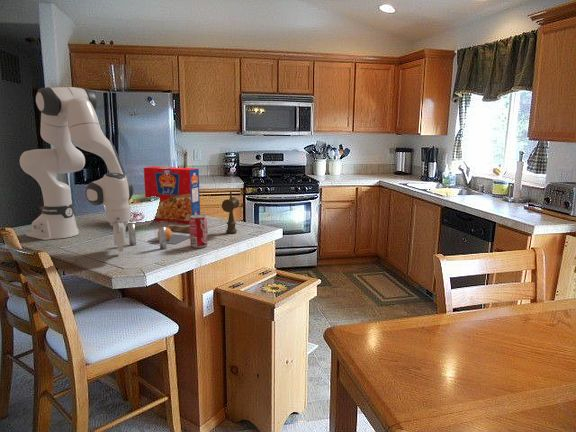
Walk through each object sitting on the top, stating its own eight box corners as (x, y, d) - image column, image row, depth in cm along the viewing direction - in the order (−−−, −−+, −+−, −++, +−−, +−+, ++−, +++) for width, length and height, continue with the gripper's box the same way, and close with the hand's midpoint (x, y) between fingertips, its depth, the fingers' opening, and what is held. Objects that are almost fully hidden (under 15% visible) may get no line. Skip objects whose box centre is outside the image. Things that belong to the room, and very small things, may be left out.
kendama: (222, 234, 197) (221, 192, 193) (228, 230, 206) (227, 189, 202) (234, 235, 196) (233, 192, 192) (240, 230, 205) (240, 189, 201)
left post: (128, 245, 178) (126, 224, 176) (132, 243, 180) (130, 223, 178) (133, 246, 177) (131, 225, 175) (137, 244, 180) (136, 223, 178)
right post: (158, 249, 173) (157, 227, 171) (162, 247, 176) (161, 226, 174) (164, 249, 172) (163, 228, 170) (167, 248, 175) (166, 226, 173)
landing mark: (147, 241, 185) (147, 240, 184) (166, 233, 198) (166, 233, 197) (175, 244, 180) (175, 243, 180) (192, 236, 193) (192, 236, 193)
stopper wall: (168, 230, 204) (168, 225, 204) (171, 229, 206) (170, 224, 205) (205, 234, 198) (205, 228, 197) (207, 233, 199) (207, 228, 199)
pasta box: (146, 220, 227) (143, 167, 221) (156, 217, 234) (153, 166, 228) (192, 224, 217) (189, 169, 211) (200, 221, 224) (198, 168, 219)
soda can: (203, 249, 173) (202, 218, 171) (187, 248, 175) (186, 217, 172) (210, 244, 180) (209, 214, 178) (194, 243, 182) (193, 213, 179)
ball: (157, 224, 184) (166, 226, 189) (153, 238, 184) (162, 239, 189) (167, 228, 181) (176, 230, 187) (163, 241, 181) (172, 243, 186)
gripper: (126, 220, 153) (129, 257, 156) (127, 210, 172) (129, 243, 175) (108, 222, 151) (111, 259, 154) (110, 211, 170) (113, 244, 173)
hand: (121, 250), depth 165 cm, fingers closed
